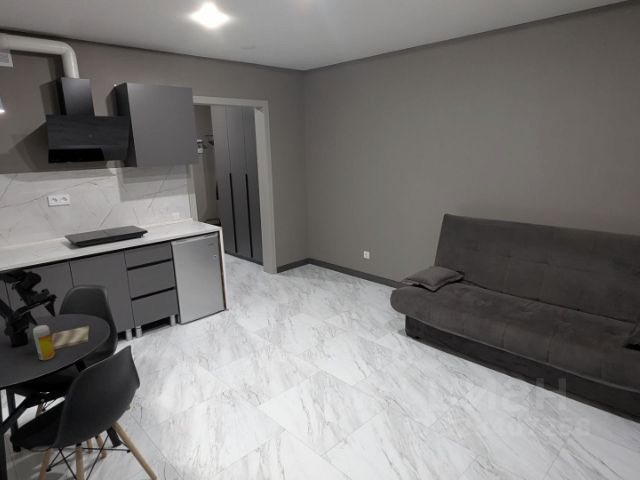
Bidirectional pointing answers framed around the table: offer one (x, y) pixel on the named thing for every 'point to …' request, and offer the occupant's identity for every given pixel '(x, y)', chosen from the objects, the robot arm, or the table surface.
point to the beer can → (43, 342)
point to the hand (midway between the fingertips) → (46, 320)
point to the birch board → (70, 337)
